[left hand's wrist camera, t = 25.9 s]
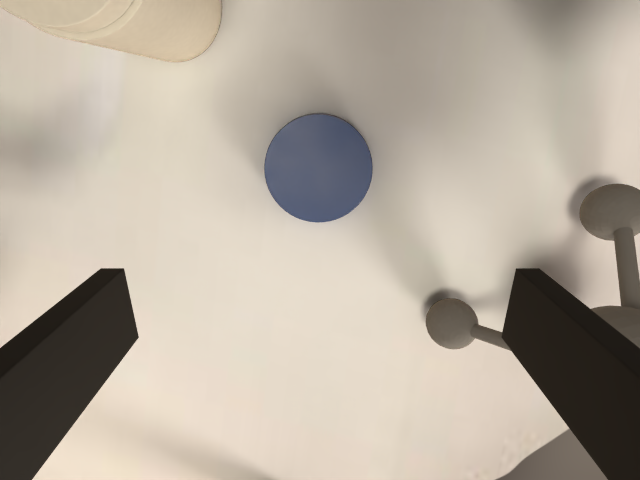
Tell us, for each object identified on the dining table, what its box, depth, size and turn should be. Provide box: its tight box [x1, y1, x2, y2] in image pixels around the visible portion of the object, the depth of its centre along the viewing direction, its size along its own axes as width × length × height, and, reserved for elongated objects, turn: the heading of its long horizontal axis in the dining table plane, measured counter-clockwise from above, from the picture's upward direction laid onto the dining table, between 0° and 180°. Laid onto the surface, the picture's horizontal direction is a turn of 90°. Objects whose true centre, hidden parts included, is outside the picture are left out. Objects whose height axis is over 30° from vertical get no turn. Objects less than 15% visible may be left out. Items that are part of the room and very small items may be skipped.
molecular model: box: [426, 184, 640, 351], centre depth 29 cm, size 24×22×30 cm
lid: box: [265, 113, 372, 222], centre depth 37 cm, size 10×10×2 cm
